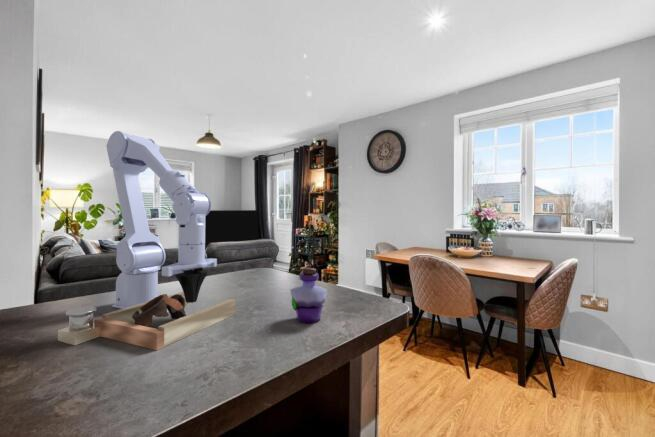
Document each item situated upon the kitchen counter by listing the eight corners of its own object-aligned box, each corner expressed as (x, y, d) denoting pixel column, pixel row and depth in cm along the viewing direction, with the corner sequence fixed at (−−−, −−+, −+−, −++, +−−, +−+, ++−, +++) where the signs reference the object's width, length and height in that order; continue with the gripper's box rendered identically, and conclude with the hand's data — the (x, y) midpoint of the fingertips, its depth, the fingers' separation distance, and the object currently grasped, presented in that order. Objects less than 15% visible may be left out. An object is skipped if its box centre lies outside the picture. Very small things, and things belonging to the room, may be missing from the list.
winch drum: (57, 340, 58) (58, 311, 57) (87, 331, 62) (87, 304, 62) (74, 345, 56) (74, 315, 56) (103, 335, 60) (103, 307, 60)
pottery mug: (182, 341, 60) (157, 307, 58) (141, 359, 61) (115, 326, 59) (204, 307, 71) (185, 278, 69) (170, 322, 72) (149, 294, 70)
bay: (94, 334, 61) (94, 316, 61) (182, 305, 81) (182, 291, 81) (156, 350, 54) (157, 330, 54) (235, 314, 74) (235, 299, 74)
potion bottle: (282, 319, 71) (282, 267, 71) (309, 311, 78) (309, 263, 78) (307, 329, 66) (308, 273, 65) (334, 319, 72) (335, 268, 72)
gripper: (179, 247, 64) (178, 312, 64) (226, 242, 77) (225, 296, 78) (154, 245, 67) (154, 308, 67) (204, 240, 80) (204, 292, 80)
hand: (191, 301), depth 72 cm, fingers closed
